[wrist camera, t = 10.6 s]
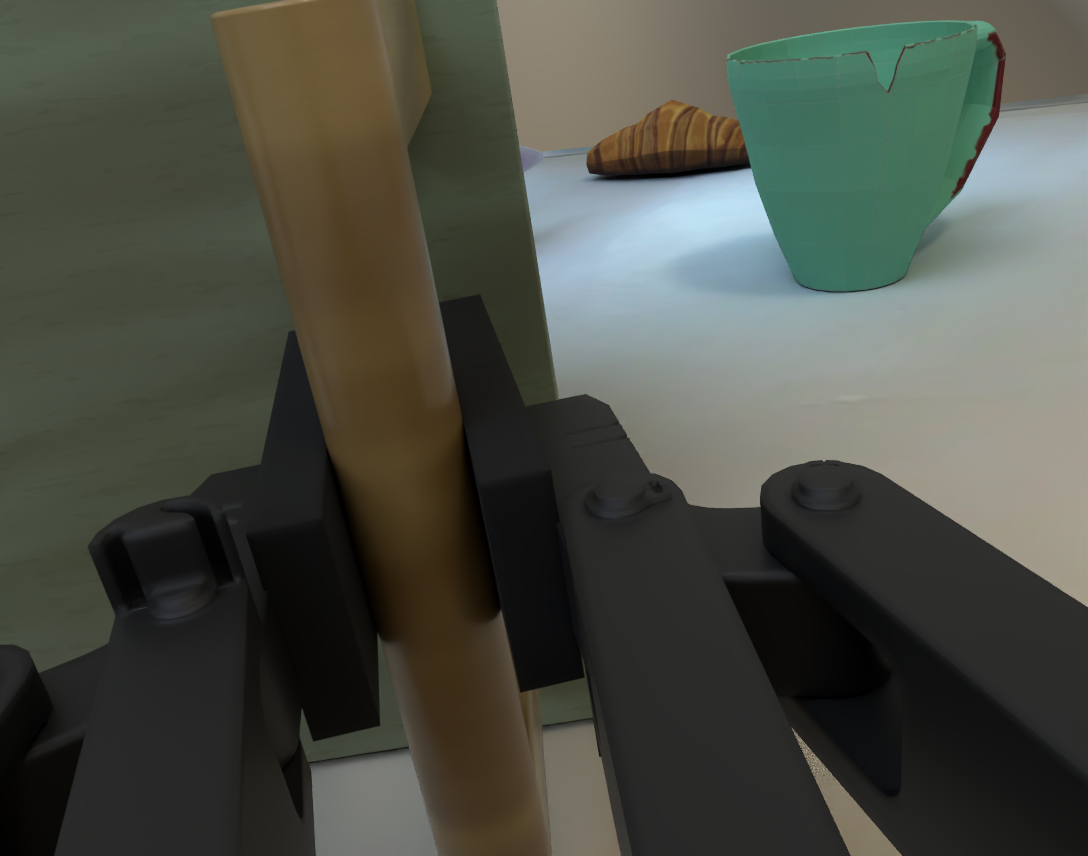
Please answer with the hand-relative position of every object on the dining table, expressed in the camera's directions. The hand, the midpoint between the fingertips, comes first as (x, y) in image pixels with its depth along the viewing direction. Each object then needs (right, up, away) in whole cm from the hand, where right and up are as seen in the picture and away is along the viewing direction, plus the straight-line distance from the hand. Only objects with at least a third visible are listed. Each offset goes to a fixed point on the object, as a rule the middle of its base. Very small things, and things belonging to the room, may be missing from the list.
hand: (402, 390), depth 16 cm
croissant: (+12, +18, +54) cm, 58 cm away
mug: (+18, +7, +29) cm, 35 cm away
